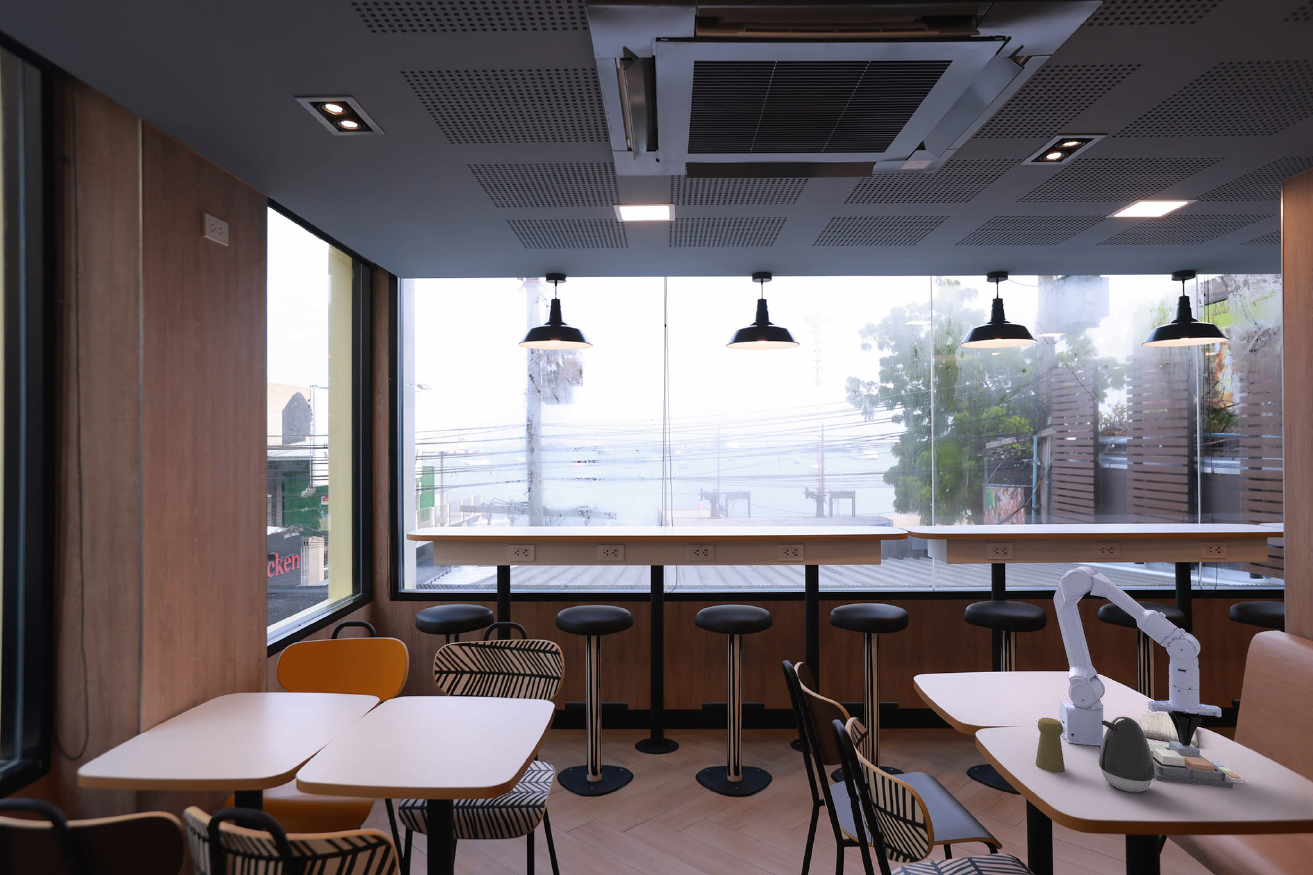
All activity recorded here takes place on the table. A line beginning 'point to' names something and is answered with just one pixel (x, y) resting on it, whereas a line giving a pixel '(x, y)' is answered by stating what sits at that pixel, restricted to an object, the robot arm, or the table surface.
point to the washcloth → (1161, 728)
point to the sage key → (1155, 747)
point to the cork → (1050, 746)
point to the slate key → (1184, 749)
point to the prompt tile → (1228, 773)
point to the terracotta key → (1199, 763)
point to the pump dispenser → (1126, 756)
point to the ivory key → (1169, 757)
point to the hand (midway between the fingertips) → (1184, 743)
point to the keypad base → (1189, 774)
